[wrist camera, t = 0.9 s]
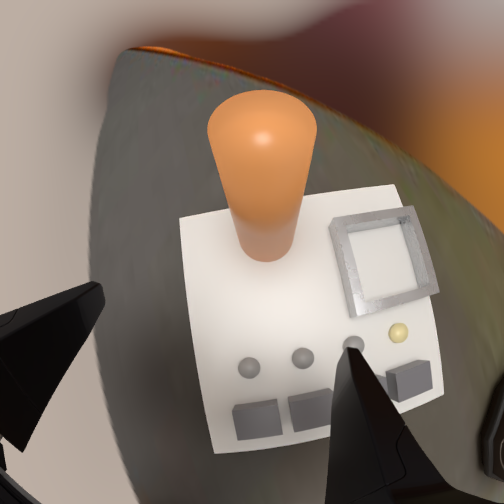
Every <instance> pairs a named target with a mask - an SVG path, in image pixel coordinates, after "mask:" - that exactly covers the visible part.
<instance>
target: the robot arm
mask: <svg viewBox="0 0 504 504" xmlns="http://www.w3.org/2000/svg"><path fill="white" fill-rule="evenodd" d="M104 306H105V297H104V292H103V287H102V285H101V284H100V283H97V282H94V281H91V282H88V283H86V284H83V285H80V286H77V287H74V288H71V289H69V290H66V291H63V292H60V293H58V294H55V295H52V296H50V297H47V298H44V299H42V300H39V301H36V302H34V303H31V304H28V305H26V306H23V307H20V308H19V309H15V310H13V311H10V312H7V313H5V314H2V315H0V440H1V439H2V437H4V438H5V439H6V440H7V441H9V442H10V443H11V444H12V445H13V446H14V447H16V448H17V449H18V450H19V451H21V452H23V451H24V450H25V448H26V446H27V443H28V441H29V439H30V437H31V435H32V433H33V431H34V429H35V427H36V425H37V423H38V421H39V419H40V417H41V416H42V414H43V412H44V410H45V408H46V406H47V404H48V402H49V401H50V399H51V397H52V395H53V393H54V392H55V390H56V388H57V386H58V385H59V383H60V381H61V380H62V378H63V376H64V375H65V373H66V371H67V370H68V368H69V366H70V365H71V363H72V361H73V360H74V358H75V356H76V355H77V353H78V352H79V350H80V348H81V347H82V345H83V344H84V342H85V341H86V339H87V338H88V336H89V334H90V332H91V330H92V329H93V327H94V325H95V323H96V321H97V319H98V317H99V315H100V313H101V312H102V310H103V308H104ZM6 470H7V468H6V463H5V457H4V451H3V445H2V444H1V443H0V504H41V503H40V502H39V501H37V500H36V499H35V498H34V497H32V496H31V495H30V494H29V493H28V492H26V491H25V490H24V489H23V488H22V487H21V486H20V485H18V484H17V483H16V482H15V481H14V480H13V479H12V478H11V477H10V476H9V475H8V474H7V473H6V472H5V471H6ZM325 504H504V503H496V502H493V501H489V500H486V499H483V498H480V497H477V496H474V495H471V494H468V493H465V492H463V491H460V490H457V489H455V488H454V487H452V486H451V485H449V484H448V483H447V482H446V481H445V480H444V478H443V477H442V476H441V474H440V473H439V472H438V470H437V469H436V468H435V466H434V465H433V464H432V462H431V461H430V460H429V458H428V457H427V456H426V454H425V453H424V451H423V450H422V449H421V447H420V446H419V444H418V443H417V441H416V440H415V438H414V436H413V435H412V433H411V432H410V430H409V428H408V427H407V425H405V422H404V420H403V419H402V417H401V415H400V414H399V412H398V410H397V409H396V407H395V405H394V404H393V402H392V401H391V399H390V397H389V396H388V394H387V393H386V391H385V389H384V388H383V386H382V385H381V383H380V381H379V380H378V378H377V377H376V375H375V374H374V372H373V370H372V369H371V367H370V366H369V364H368V363H367V361H366V360H365V358H364V356H363V355H362V353H361V352H360V350H359V349H358V348H354V347H346V348H345V349H344V351H343V353H342V355H341V357H340V359H339V361H338V363H337V367H336V375H335V383H334V390H333V397H332V405H331V426H330V447H329V463H328V476H327V487H326V497H325Z"/></svg>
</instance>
